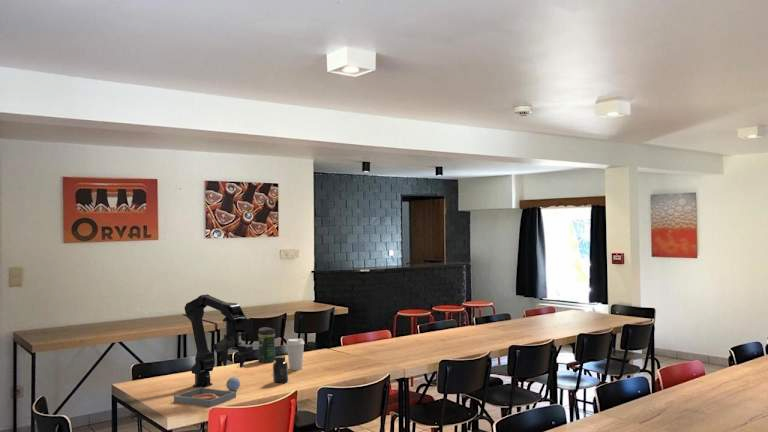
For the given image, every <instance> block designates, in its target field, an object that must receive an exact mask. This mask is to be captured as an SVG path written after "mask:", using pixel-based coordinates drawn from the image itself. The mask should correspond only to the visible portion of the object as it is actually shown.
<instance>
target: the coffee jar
mask: <svg viewBox="0 0 768 432" xmlns="http://www.w3.org/2000/svg"><path fill="white" fill-rule="evenodd" d="M257 336H258V361H259V362H261V363H272V362H273V363H274V362H276V361H275V357H276V349H275V348H276V347H275V346H276V345H275V339H276V338H275V336H276V332H275V329H274V328H272V327H267V326H265V327H264V326H263V327H260V328H259V329H258V332H257Z"/></svg>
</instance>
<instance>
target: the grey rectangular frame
mask: <svg viewBox="0 0 768 432" xmlns="http://www.w3.org/2000/svg"><path fill="white" fill-rule="evenodd" d="M236 398H237V391H230V390H223V389H217V388H216V389H215V388H210V387H209V388H208V387H197V388H194V389H191V390H188V391H185V392H182V393H179V394H176V395H173V402H174V403H179V404H187V405H192V406H199V407H207V408H212V407H214V406H217V405H220V404H223V403H226V402H229V401H231V400H233V399H236Z"/></svg>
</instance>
